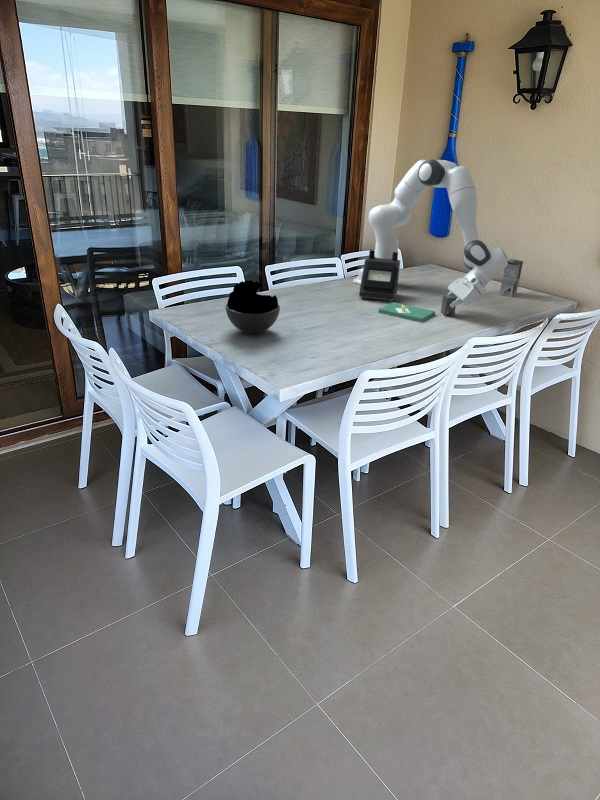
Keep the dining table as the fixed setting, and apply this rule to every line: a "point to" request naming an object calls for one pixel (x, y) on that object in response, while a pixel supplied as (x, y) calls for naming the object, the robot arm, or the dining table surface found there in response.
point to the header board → (407, 312)
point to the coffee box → (511, 278)
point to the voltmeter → (380, 277)
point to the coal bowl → (251, 308)
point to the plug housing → (445, 305)
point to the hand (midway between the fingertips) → (447, 304)
